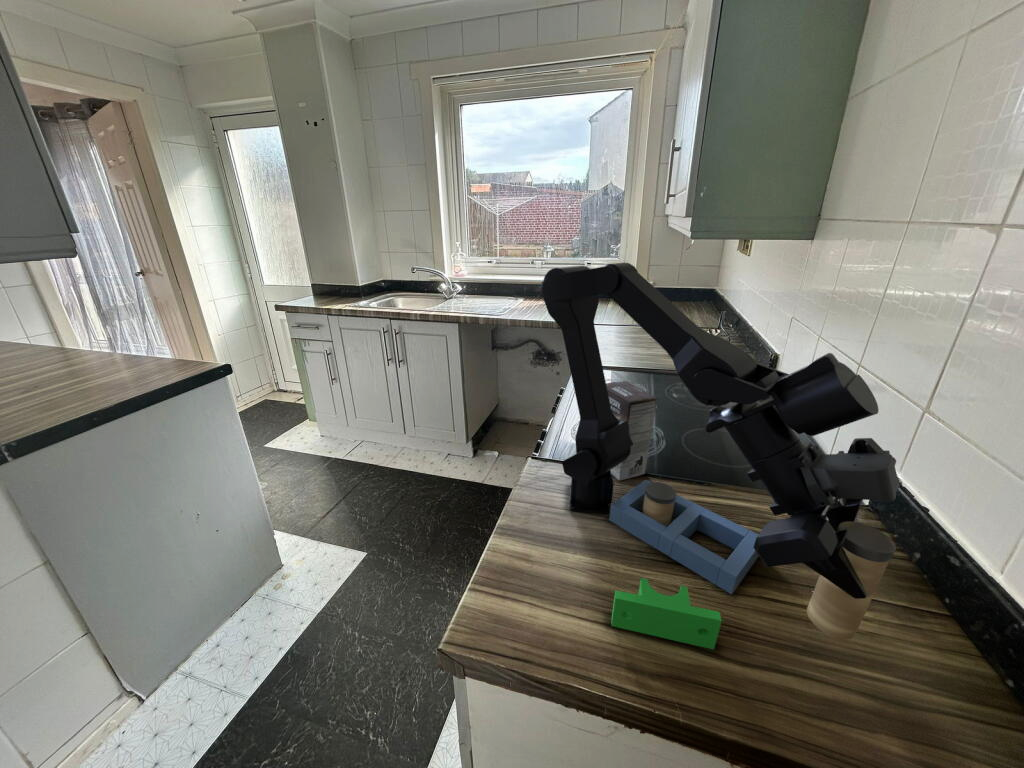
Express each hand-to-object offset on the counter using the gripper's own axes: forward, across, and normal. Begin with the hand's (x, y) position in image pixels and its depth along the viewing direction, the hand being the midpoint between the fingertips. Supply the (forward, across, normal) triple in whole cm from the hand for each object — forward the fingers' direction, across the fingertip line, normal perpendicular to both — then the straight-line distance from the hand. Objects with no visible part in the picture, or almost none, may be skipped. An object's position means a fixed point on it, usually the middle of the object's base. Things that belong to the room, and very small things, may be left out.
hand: (865, 584), depth 41 cm
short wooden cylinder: (-10, +4, +24) cm, 26 cm away
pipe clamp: (-4, -12, +17) cm, 21 cm away
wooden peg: (+4, 0, +6) cm, 7 cm away
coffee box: (-20, +13, +34) cm, 41 cm away
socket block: (-7, +4, +21) cm, 23 cm away
